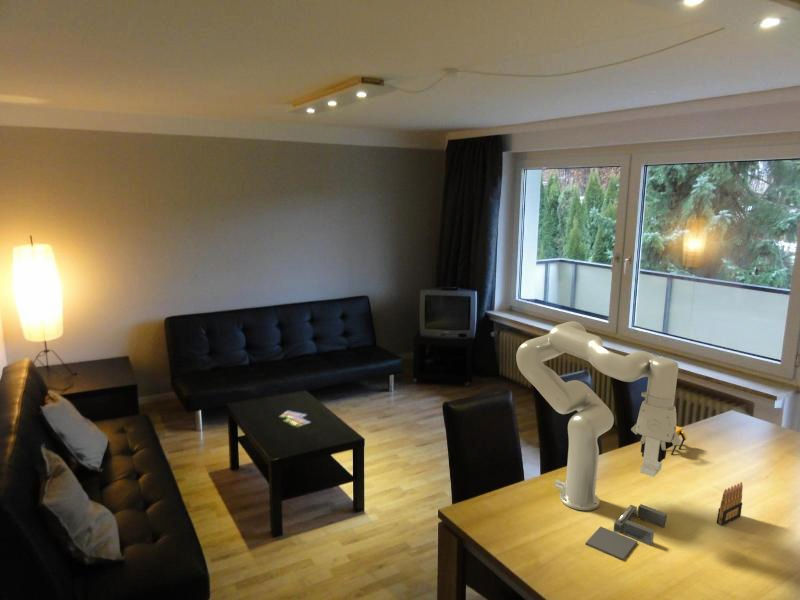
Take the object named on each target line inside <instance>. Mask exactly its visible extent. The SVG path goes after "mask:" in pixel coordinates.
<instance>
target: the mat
mask: <svg viewBox="0 0 800 600" xmlns="http://www.w3.org/2000/svg"><path fill="white" fill-rule="evenodd" d="M637 542H638V540H635V539H633V538H630V537H628V536H626V535H623V534H621V533H618V532H616V531H614V530H610V529H608V528H605V527H603V526H599V528H597V530H595V532H593V534H592V535H591V536H590V537H589V538H588V540H586V542H585V545H587V546H588V547H589V548H590V547H591V548H593V549H596V550H598V551H599V552H602V553H604V554H607V555H609V556H611V557H613V558H616V559H618V560H620V561H624V560H625V559H626V558H627V557H628V555H629V554H630V553H631V551H632V550H633V549H634V548H635V546H636V545H637V544H638V543H637Z"/></svg>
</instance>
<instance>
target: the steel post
mask: <svg viewBox="0 0 800 600" xmlns="http://www.w3.org/2000/svg"><path fill="white" fill-rule="evenodd" d="M660 449H661V441H659V440H656V439H653V438H649V437H646V441H645V449H644V457H643V458H642V465H641V466H640V469H639V473H640V474H644V475H647V476H649V477H652V478H655V477H656V476H657V475H658V474H659V472H660V471H661V470H662V467H663V462H662V461H661V462H658V457H659V450H660Z"/></svg>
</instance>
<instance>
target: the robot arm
mask: <svg viewBox="0 0 800 600" xmlns="http://www.w3.org/2000/svg"><path fill="white" fill-rule="evenodd" d="M603 345H604V344H603V340H602V338H601V337H600V336H599V335H596V334H592V333H590V332H587V330H586V328H585V326H584V325H583V324H582V323H580V322H578V321H566V322H564V323H559V324H557V325H555V326H553V327H552V328H551V329H550V330H549V331H548V333H546V334H545V335H541V336H538V337H534V338H532V339H528V340H526V341H524V342H522V344H520V346H519V347H518V349H517V350H516V355H515V356H516V358H515V360H516V365H517V367H518V370H519V372H520V373H521V375H523V376H524V378H526V380H527V381H528V382H529V383H530V384H531V385H533V387H535V389H536V390H537V391H538V392H539V394H540V395H541V396H542V397H543V398H544V399H545V401H546V402H547V403H548V404H549V405H550V407H552V408H553V410H555V412H557V413H558V414H561V415H566V414H567V415H568V414H570V413H573V412H575V411H577V412H576V413H574V414H573V415H572V416H571V417H570V419H568V420H569V421H568V424H567V434H568V435H567V436H568V450H567V451H568V452H567V465H566V476H565V477H566V478H565V481H563V480H560V479H558V478H556V479H555V480H554V484H555V485H554V488H556V489H558V490H560V493H559V500H560V501H561V503H563V504H564V505H565V506H567V507H568V508H571V509H574V510H577V511H586V512H587V511H593V510H595V509H597V508H599V506H600V499H599V497H598V496H597V494H596V488H597V479H598V478H597V476H598V468H599V467H598V466H599V459H600V458H599V455H600V449H599V444H598V439H599V437H601V435H603V434H605V433H607V432H608V431H610V430H611V429H612V427H613V425H614V422H615V419H614V414H613V413H612V411H611V410H610V408H609V407H608V406H607V404H606V403H604V401H603V400H602V399H601V398H600V397H599V396H598V395H597V394H596V392H594V391H593V389H591V387H589V386H588V384H586V383H585V382H582V381H581V380H577V379H576V380H575V379H574V380H573V379H572V380H568V381H567V382H566V381H564V380H563V379H562V378H561V377H560V376H559V375H558V374H557V372H555V371H554V370H553V369H551V368H550V367H549V366H547V365H545V364H544V362H547V361H550V360H552V359H555V358H557V357H559V356H561V355H563V354H565V353H566V354H567V355H571V356H574V357H576V358H579V359H581V360H584V361H586V362H589V364H591V366H592V367H593V368H595V369H596V370H597V371H598V372H600V373H601V374H603V375H606V376H608V377H610V378H613V379H616V380H619V381H622V382H626V383H627V382H628V383H633V382H636V381H638V380H640V379H641V378H645V377H646V378H647V379H648V380H647V386H646V391H642V392H641V395H640V396H641V397H643V398H644V400H643V401H642V402H641V405H640V407H639V412H638V414H637V415H638V417H637V420H636V423H635V424H634V426H632V427H631V429H630V430H631V432H632V433H634V435H636V437H637V438H638V440H639V441H640V444H641V447H640V453H641V457H644V449H645V441H646V437H649V438H653V439H656V440H659V441H661V449H660V450H659V457H658V462H662V461H663V460H665V459H666V458H667V456H666V455H667V451H668V450H667V449H669V448H672V447H674V446H675V445H677V446H680V444H681V442H682V440H681V439H680V437H679V436H678V435H677V433H676V426H677V409H676V408H677V407H676V406H675V400H676V399H675V396H676V389H677V383H678V381H677V380H678V375H679V364H678V362H677V361H676V360H674V359H671V358H668V357H660V356H658V355H656V354H655V355H654V354H653V353H650V352H648V351H644V350H637V351H634V352H632V353H629V354H627V355H622V354H619V353H615V352H613V351H610V350H608V349H607V348H605V347H604V346H603ZM672 439H673V440H672ZM671 440H672V441H671Z"/></svg>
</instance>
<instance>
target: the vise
mask: <svg viewBox="0 0 800 600" xmlns="http://www.w3.org/2000/svg"><path fill="white" fill-rule="evenodd" d="M636 515H637V516H636ZM635 516H636V518H637V519H639V520H642V521H644V522H647V523H650V524H652V525H655V526H658V527H659V528H663V529H664V528H665V527H666V525H667V518H668V513H667V512H664V511H662V510H658V509H656V508H653V507H650V506H647V505H644V504H642V503H640V504H639V505H638V506H635V505H632V504H630V505H629V506H628V507H627V508H626V509H625V510H624V512H623V513H621V515H620V516H619V517H618V518H617V520H616V521H615V522H614V523H613V532H616V533H618V534H621V533H622V532H623V533H622V535H623V536H625V537H628V538H630V539H633V540H635V541H637V542H640V543H643V544H644V545H645V544H646V545H647V546H652V545H653V543H654V537H655V530H654V529H652V528H649V527H646V526H644V525H641V524H639V523H637V522H633V521H632V520H633V519H634V518H635Z"/></svg>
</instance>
